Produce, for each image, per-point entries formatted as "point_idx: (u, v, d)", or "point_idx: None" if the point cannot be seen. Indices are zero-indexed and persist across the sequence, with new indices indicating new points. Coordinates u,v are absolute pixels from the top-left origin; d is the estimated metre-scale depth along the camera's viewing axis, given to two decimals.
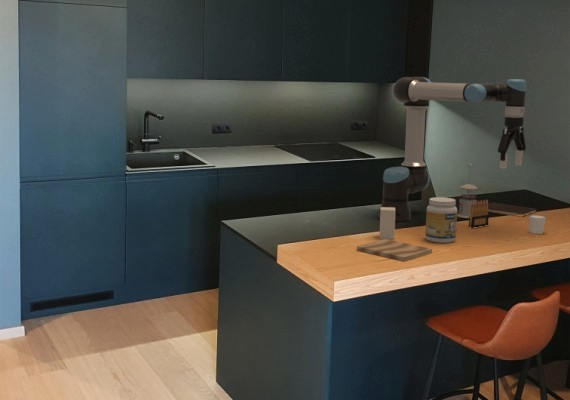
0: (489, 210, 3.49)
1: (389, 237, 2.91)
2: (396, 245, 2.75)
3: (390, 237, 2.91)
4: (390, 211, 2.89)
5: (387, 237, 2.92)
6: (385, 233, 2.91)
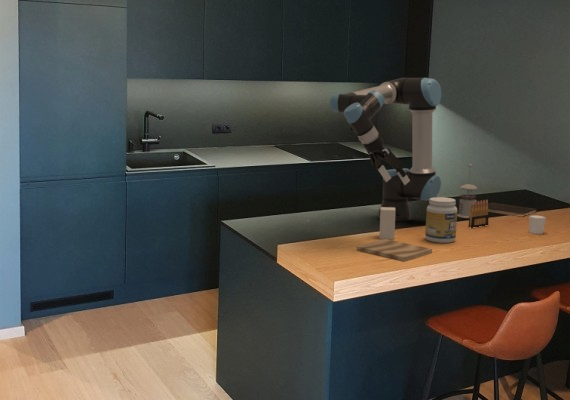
0: (489, 210, 3.49)
1: (389, 237, 2.91)
2: (396, 245, 2.75)
3: (390, 237, 2.91)
4: (390, 211, 2.90)
5: (387, 237, 2.92)
6: (385, 233, 2.91)
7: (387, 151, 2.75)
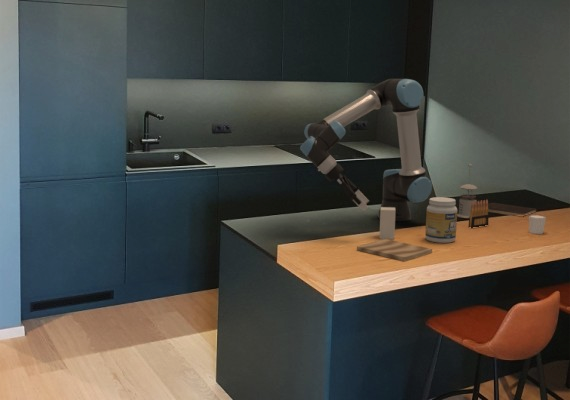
0: (489, 210, 3.49)
1: (389, 237, 2.91)
2: (396, 245, 2.75)
3: (390, 237, 2.91)
4: (390, 211, 2.90)
5: (387, 237, 2.92)
6: (385, 233, 2.91)
7: (339, 181, 2.86)
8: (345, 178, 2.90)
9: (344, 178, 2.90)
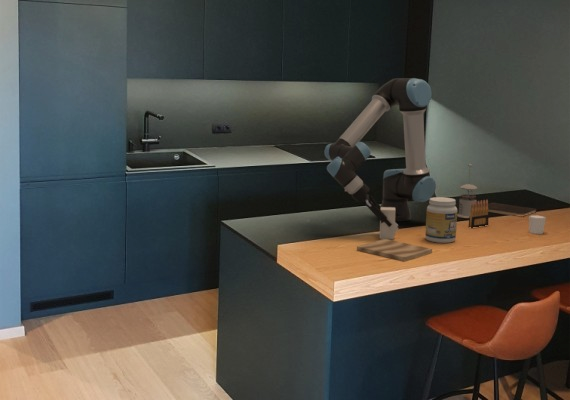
0: (489, 210, 3.49)
1: (389, 237, 2.91)
2: (396, 245, 2.75)
3: (390, 237, 2.91)
4: (390, 211, 2.89)
5: (387, 237, 2.92)
6: (385, 233, 2.91)
7: (369, 204, 2.86)
8: (372, 199, 2.91)
9: (371, 199, 2.90)
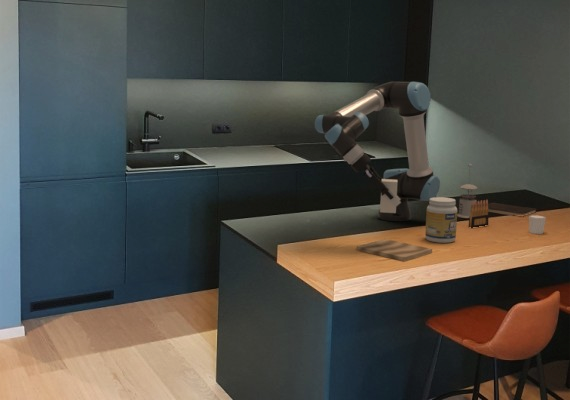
0: (489, 210, 3.49)
1: (390, 211, 2.72)
2: (396, 245, 2.75)
3: (391, 211, 2.72)
4: (392, 183, 2.70)
5: (388, 211, 2.72)
6: (386, 206, 2.72)
7: (369, 174, 2.67)
8: (373, 169, 2.71)
9: (372, 170, 2.71)
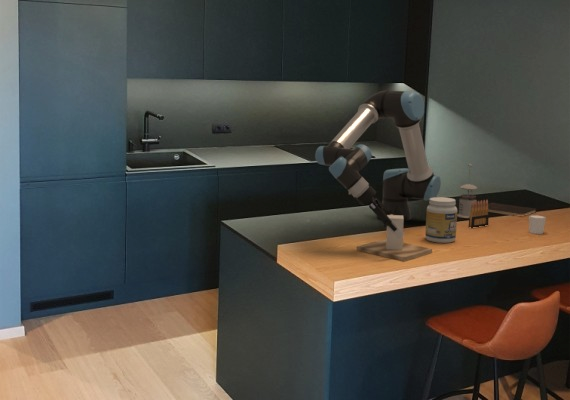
0: (489, 210, 3.49)
1: (397, 248, 2.68)
2: None
3: (398, 248, 2.68)
4: (398, 219, 2.66)
5: (394, 248, 2.68)
6: (393, 243, 2.68)
7: (372, 206, 2.63)
8: (378, 202, 2.67)
9: (377, 202, 2.67)
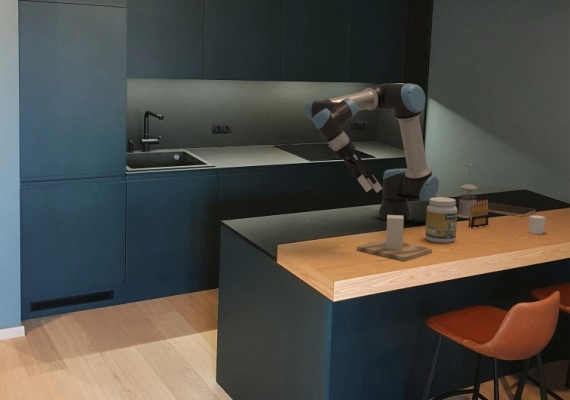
0: (489, 210, 3.49)
1: (397, 248, 2.68)
2: None
3: (398, 248, 2.68)
4: (398, 219, 2.66)
5: (394, 248, 2.68)
6: (393, 243, 2.68)
7: (355, 157, 2.66)
8: None
9: None
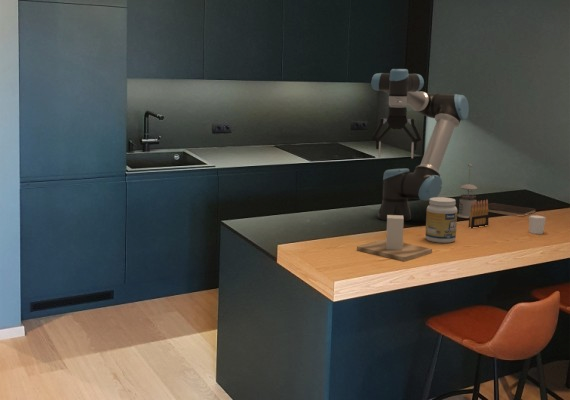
0: (488, 210, 3.49)
1: (397, 248, 2.68)
2: None
3: (398, 248, 2.68)
4: (398, 219, 2.66)
5: (394, 248, 2.68)
6: (393, 243, 2.68)
7: (413, 120, 2.96)
8: None
9: None
